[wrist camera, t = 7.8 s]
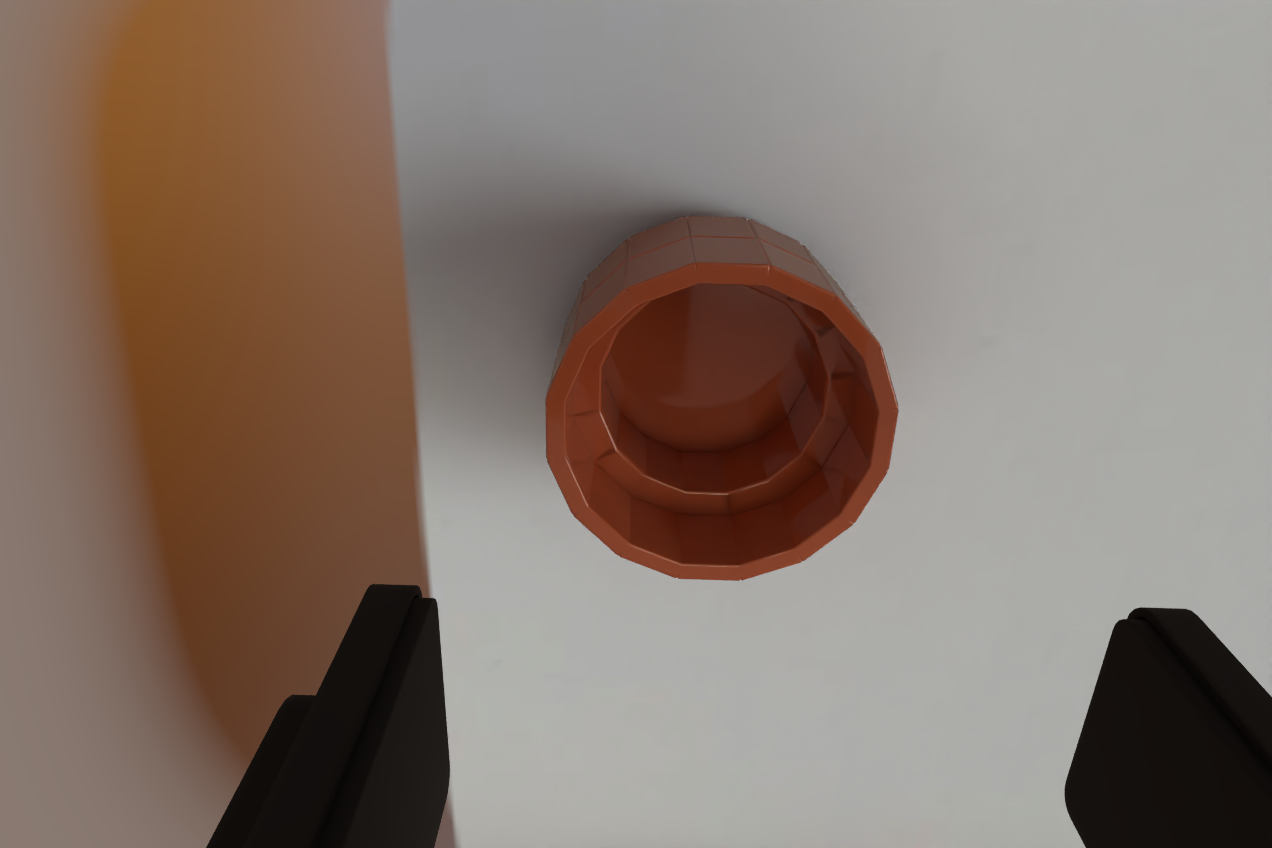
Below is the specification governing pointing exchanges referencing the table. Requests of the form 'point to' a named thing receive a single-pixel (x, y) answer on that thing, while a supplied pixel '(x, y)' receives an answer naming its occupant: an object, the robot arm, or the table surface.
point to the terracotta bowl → (717, 402)
